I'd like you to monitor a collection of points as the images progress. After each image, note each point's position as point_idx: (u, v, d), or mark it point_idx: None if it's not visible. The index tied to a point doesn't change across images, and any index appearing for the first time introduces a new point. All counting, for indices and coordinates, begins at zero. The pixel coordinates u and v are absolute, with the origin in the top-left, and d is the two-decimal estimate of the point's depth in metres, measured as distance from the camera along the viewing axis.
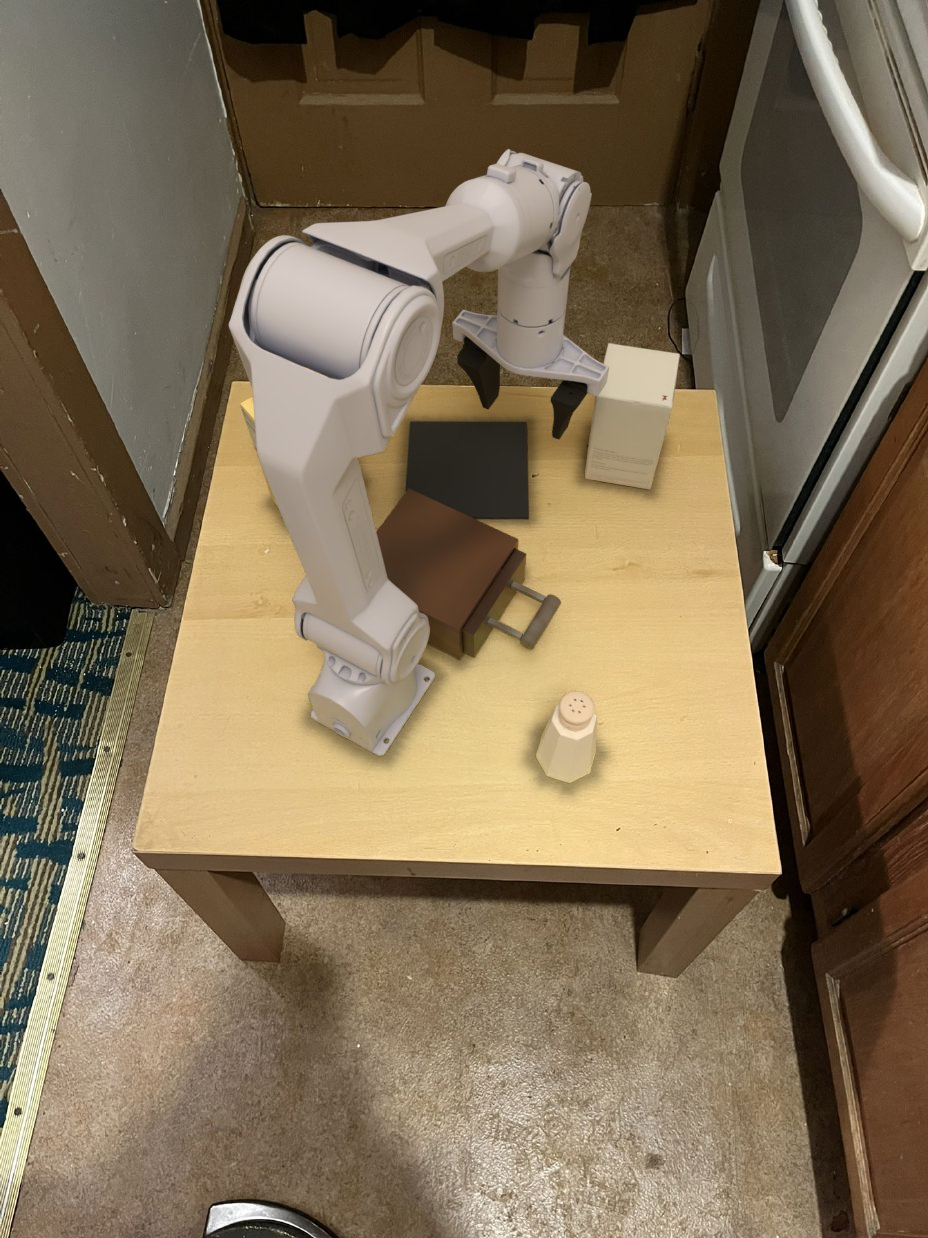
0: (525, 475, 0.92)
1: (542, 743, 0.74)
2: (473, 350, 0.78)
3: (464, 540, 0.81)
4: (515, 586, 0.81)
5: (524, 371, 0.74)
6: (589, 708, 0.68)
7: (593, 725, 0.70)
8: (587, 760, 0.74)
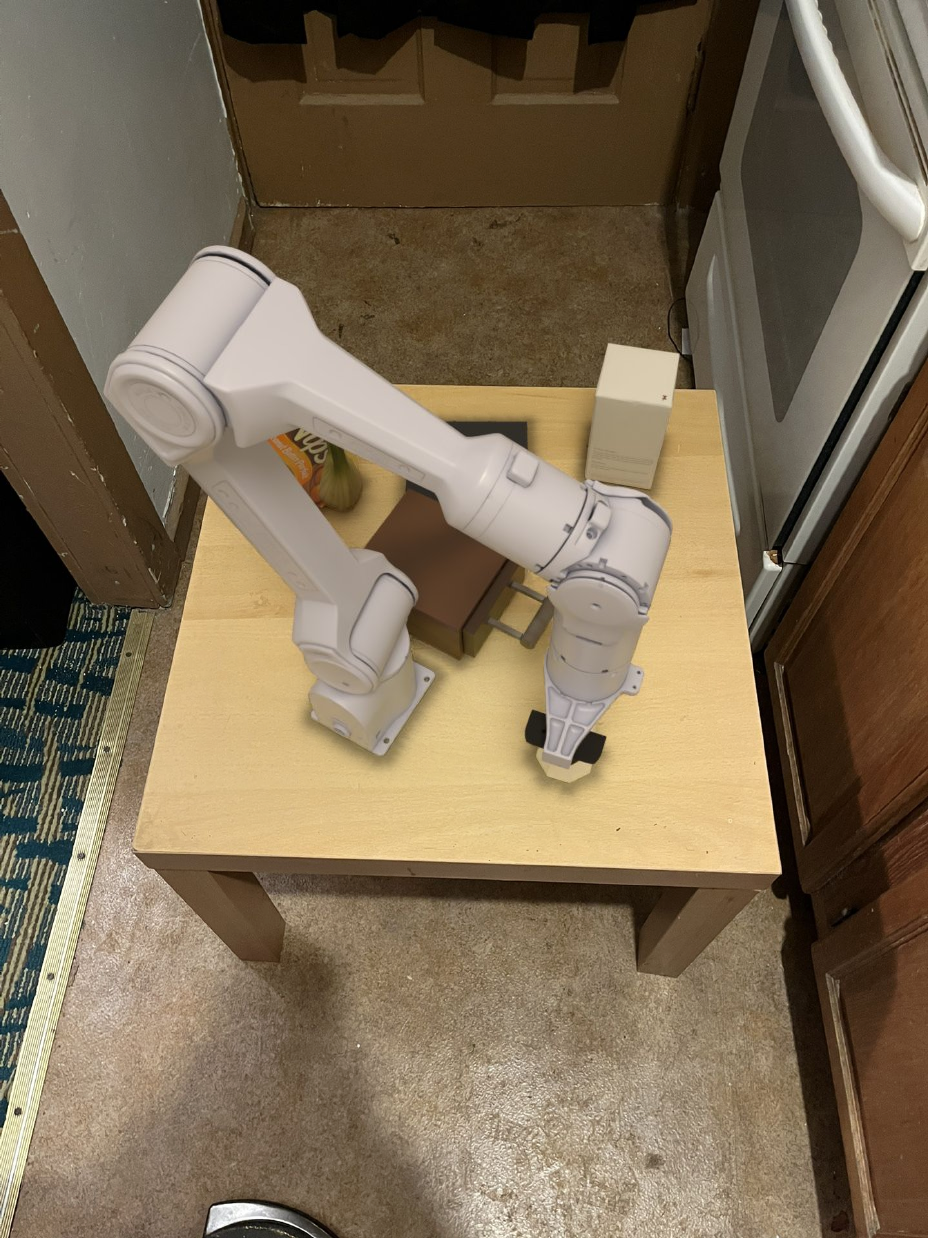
0: None
1: None
2: None
3: (464, 540, 0.81)
4: (515, 586, 0.81)
5: (544, 666, 0.62)
6: None
7: None
8: None
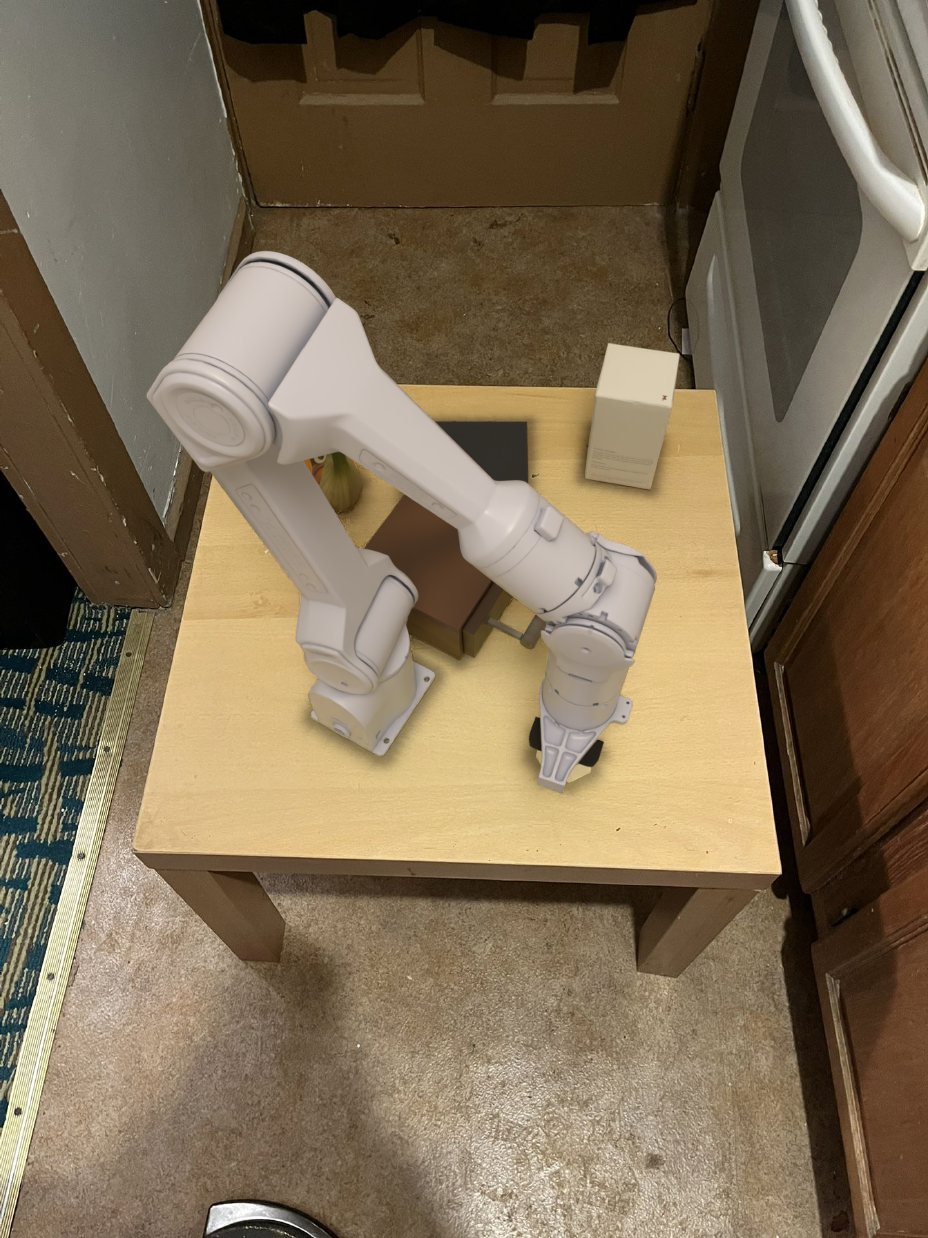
0: (525, 475, 0.92)
1: None
2: None
3: None
4: None
5: (539, 696, 0.66)
6: None
7: None
8: None
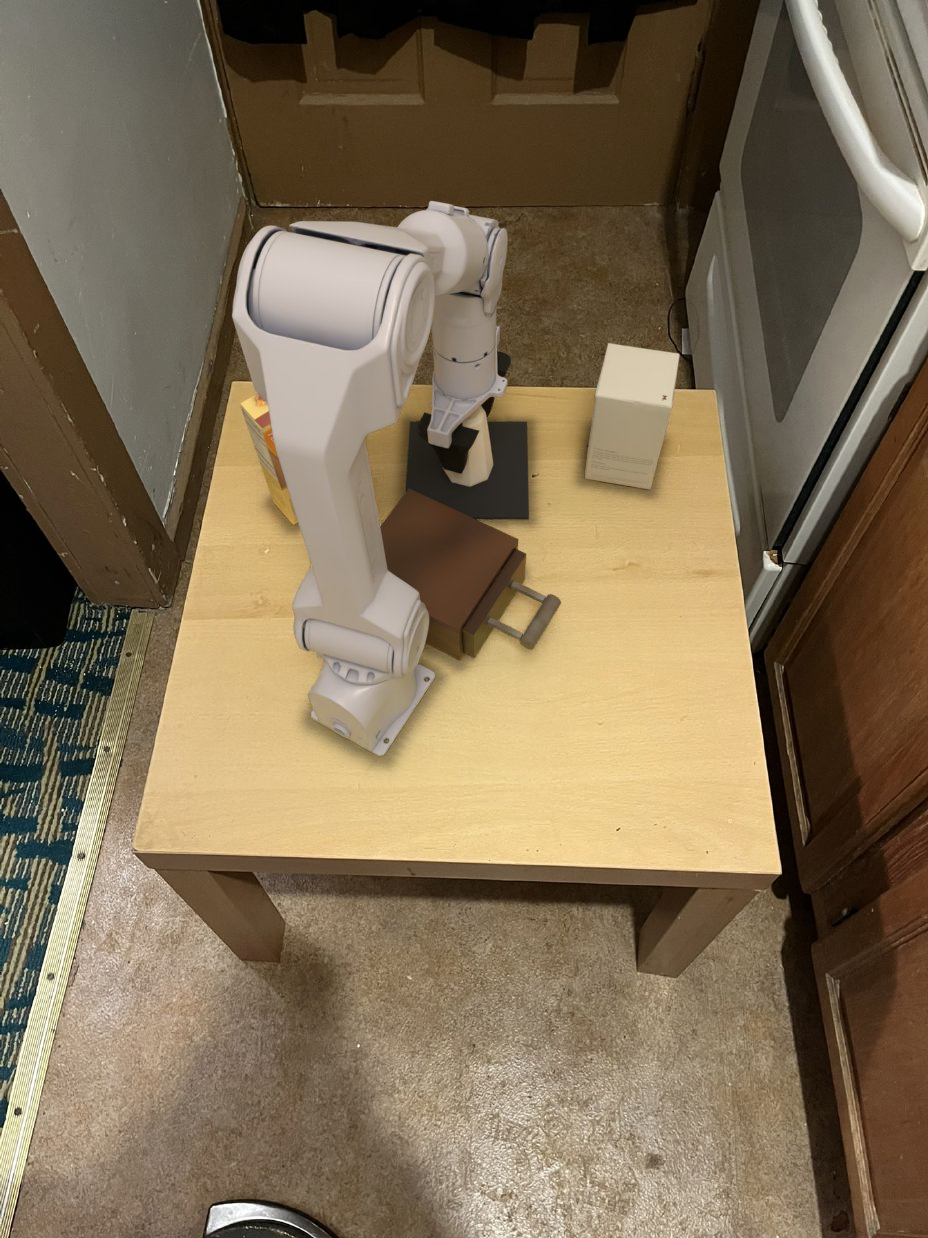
0: (525, 475, 0.92)
1: None
2: None
3: (464, 540, 0.81)
4: (515, 586, 0.81)
5: None
6: None
7: (482, 417, 0.85)
8: (482, 460, 0.89)
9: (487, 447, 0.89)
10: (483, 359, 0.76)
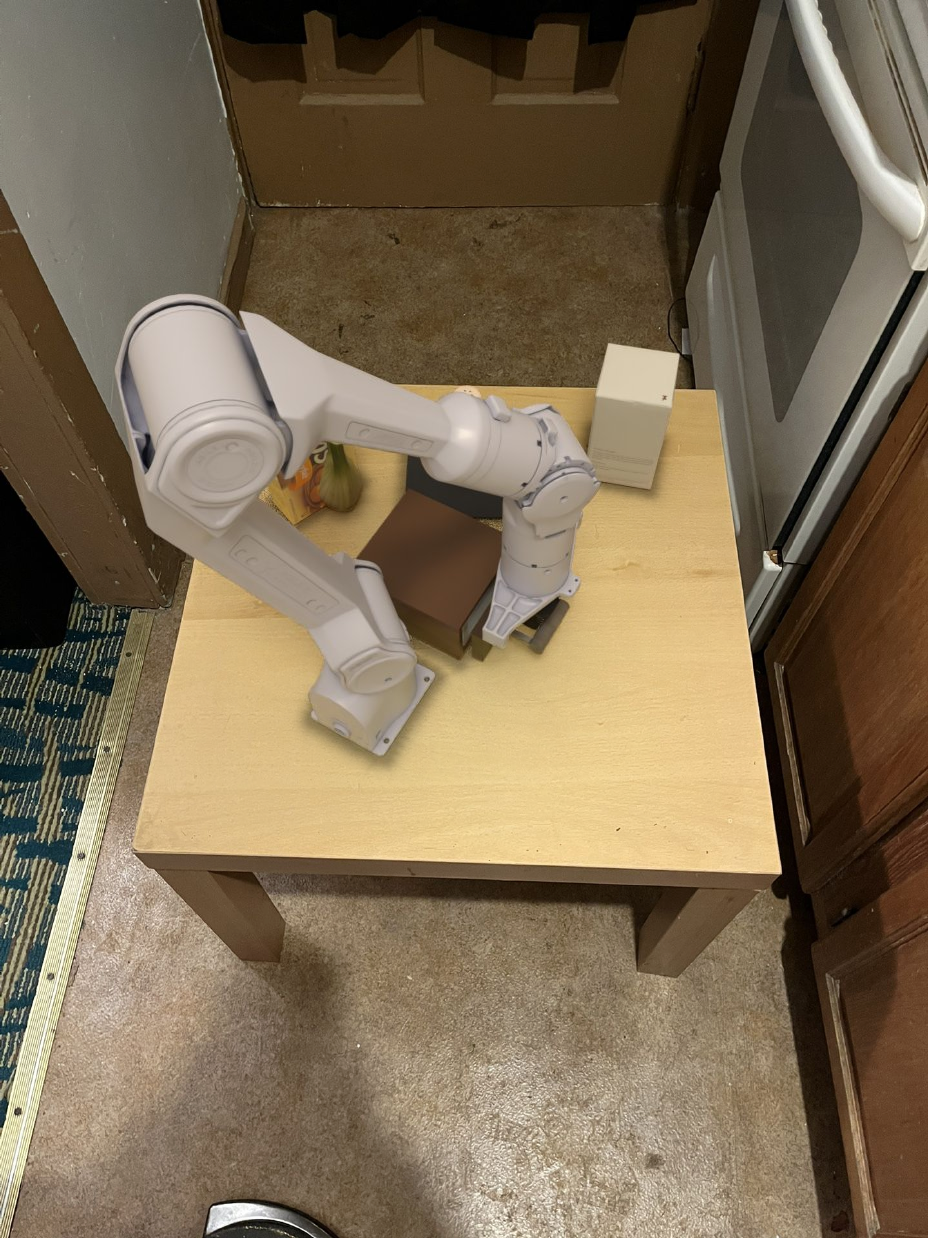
0: None
1: None
2: None
3: (464, 540, 0.81)
4: None
5: None
6: (476, 396, 0.83)
7: None
8: None
9: None
10: (555, 565, 0.68)
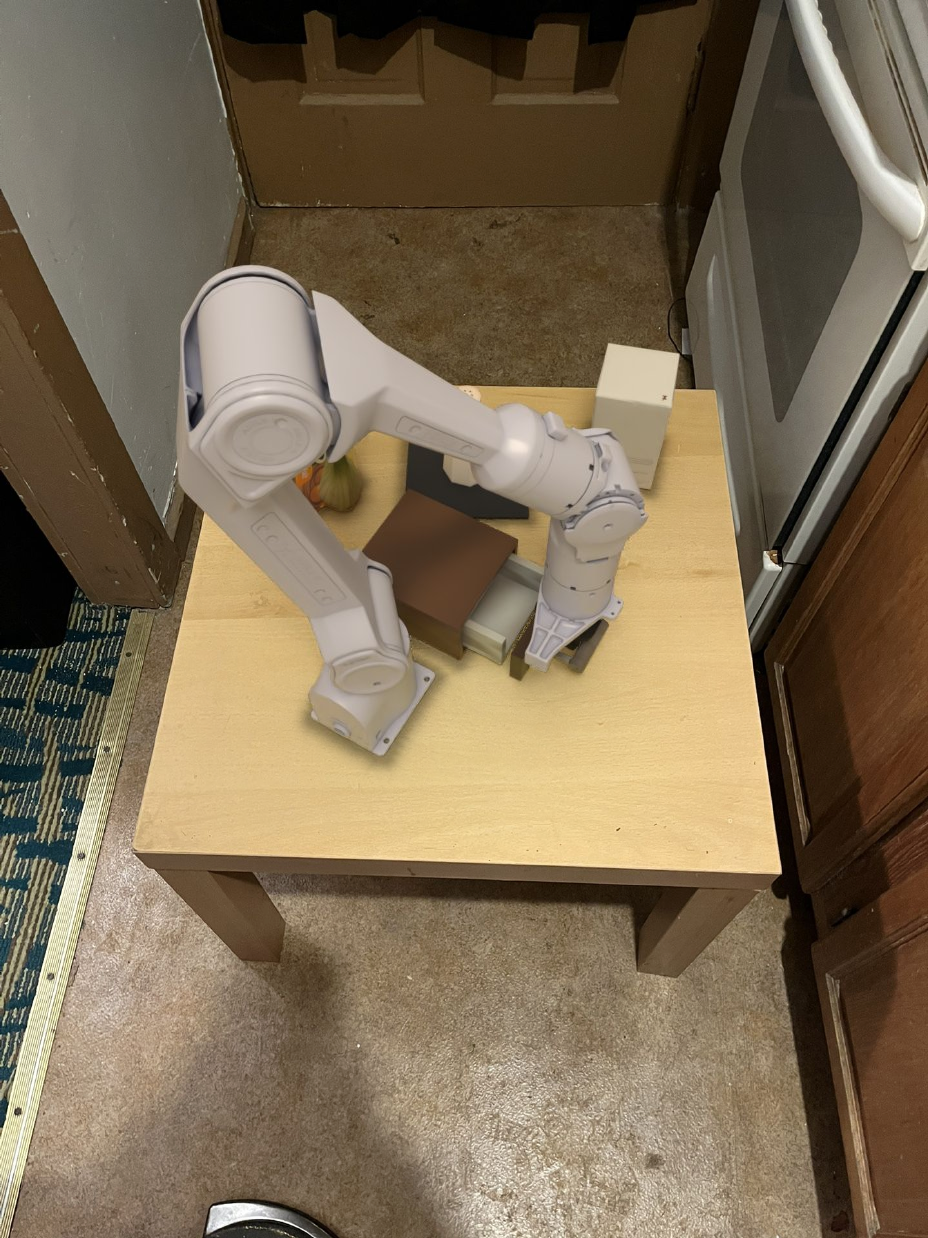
0: None
1: None
2: None
3: (464, 540, 0.81)
4: None
5: (540, 586, 0.73)
6: (476, 396, 0.83)
7: None
8: None
9: None
10: (600, 589, 0.67)
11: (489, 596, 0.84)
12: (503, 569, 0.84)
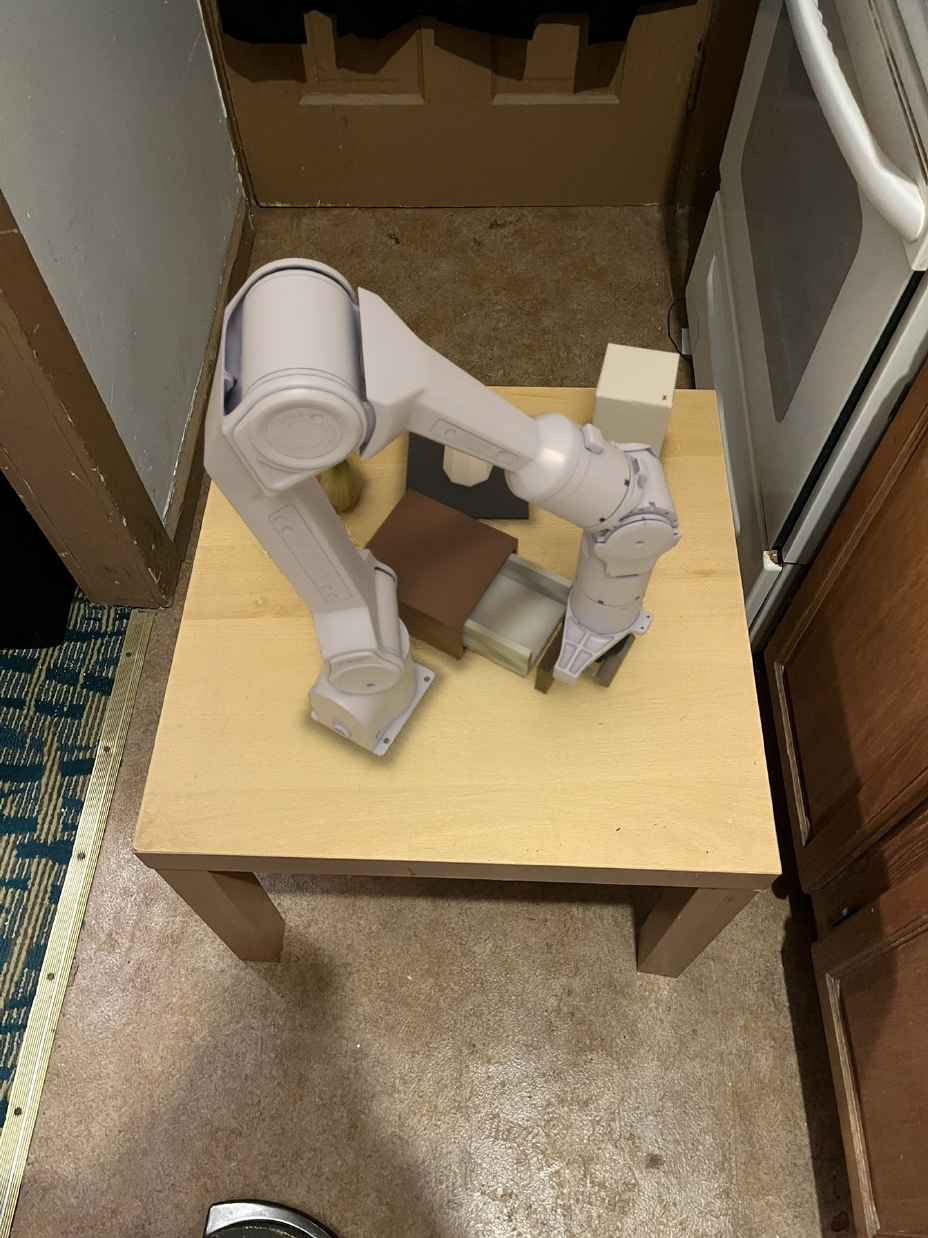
0: None
1: (445, 447, 0.90)
2: None
3: (464, 540, 0.81)
4: None
5: (568, 599, 0.72)
6: None
7: None
8: None
9: None
10: (631, 604, 0.66)
11: (513, 607, 0.83)
12: (527, 581, 0.83)
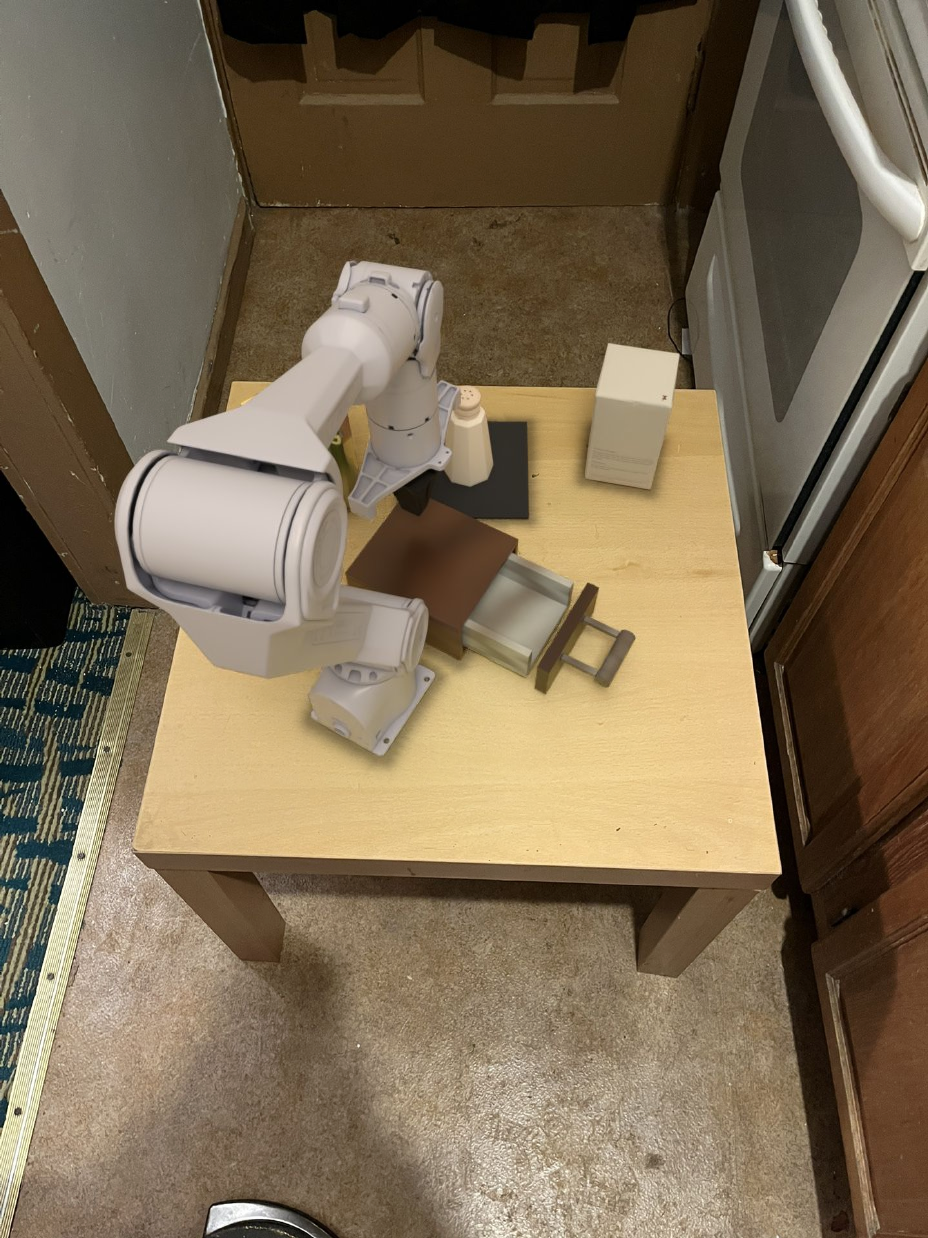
0: (525, 475, 0.92)
1: None
2: None
3: (464, 540, 0.81)
4: (588, 621, 0.80)
5: (370, 438, 0.72)
6: (476, 396, 0.83)
7: (482, 417, 0.85)
8: (482, 460, 0.89)
9: (487, 447, 0.89)
10: (417, 429, 0.67)
11: (513, 607, 0.83)
12: (527, 581, 0.83)
